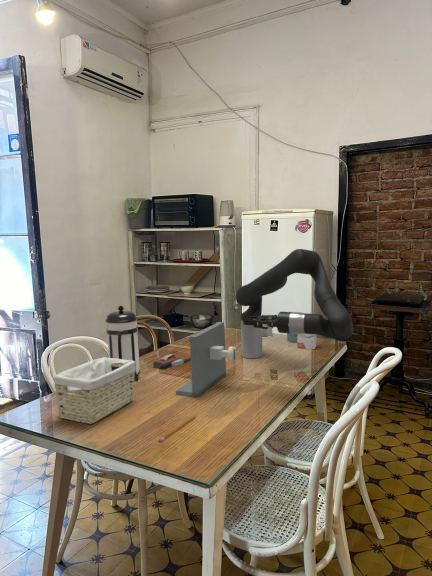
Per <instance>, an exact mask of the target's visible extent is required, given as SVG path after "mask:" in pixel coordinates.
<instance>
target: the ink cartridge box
mask: <svg viewBox="0 0 432 576" xmlns="http://www.w3.org/2000/svg"><path fill="white" fill-rule="evenodd" d="M296 344H297V346H296V347H297V349H305V350H312V349H314V350H315V349H316V348H317V334H297V343H296Z"/></svg>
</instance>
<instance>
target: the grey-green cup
mask: <svg viewBox="0 0 432 576" xmlns="http://www.w3.org/2000/svg"><path fill="white" fill-rule="evenodd" d="M286 337H287V338H286V339H287V342H288V341H289V342H288V343H293V344H295V343H296V344H297V334H288V333H286Z"/></svg>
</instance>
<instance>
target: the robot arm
mask: <svg viewBox="0 0 432 576" xmlns="http://www.w3.org/2000/svg"><path fill="white" fill-rule="evenodd" d="M294 274H301V275H309V276H310V277H311V278H312V280H313V281H314V284H315V285H314V292H313V293H314V299H315V301H316V304H317V305H318V307H319V309H320V311H321V312H322V314H323V315H324V316H326V318H325V317H324V316H323V315H322V314H320V313H306V312H305V313H304V312H300V311H299V312H298V311H296V312H295V311H279V312H278V313H277V314H262V312H263V310H262V309H263V296H267V295H272V294H273V293H275V292H277V291H279V290H281V289H282V288H283V287H285V285H286V284H287V282H288V277H289V276H291V275H294ZM328 277H329V276H328V274H327V271H326V268H325V265H324V263H323V259H322V258H321V256H320V254H319V253H318V252H317V251H314V250H311V249H305V248H304V249H303V248H298V249H297V248H296V249H294V250H293V251H291V252H290V253H289V254H288V255H287V256H285V258H283V259H282V260H281V261H280V262H279V263H277V264H275V265H274V266H273V267H271V268H269V269H268V270H266V271H265V272H263V273H262V274H261V275H259V276H258V277H257V278H255V279H253V280H252V281H251V282H249V283H247V284H244V285H242V286H240V287H239V288H238V289H237V291H236V293H235V300H236V302H237V304H238V305H239V306H241V307H248V308H247V309H246V310H245V311H244V312H243V311H242V313H241V314H240V335H241V336H240V338H241V340H240V342H241V347H240V348H241V357H242V358H245V359H259V358H261V357H263V355H264V354H263V351H264V350H263V349H264V348H263V338H262V336H261V329H268V328H272V329H274V328H276V329H277V332H278V333H280V334H287V333H288V334H316V335H319V336H322V337H324V338H329V339H333V340H337V341H338V340H339V341H341V340H347V339H349V338H350V337H351V336H353V334H354V325H353V319H352V316H351V314H350V312H349V311H348V310H347V309H346V307H345V306H344V305H343V304H342V303H341V301H340V299H339V297H338V296H337V294H336V292H335V291H334V289H333V287H332V285H331V282H330V280H329V278H328Z"/></svg>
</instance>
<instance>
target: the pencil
mask: <svg viewBox="0 0 432 576" xmlns="http://www.w3.org/2000/svg"><path fill="white" fill-rule="evenodd" d="M196 417H197V416H196V415H195V416H191V417H190V418H189V419H187V420H186V421H184V422H183V423H181V424H180V425H178V426H177V427H175V428H174V429H173V430H171V431H170V432H168V433H167V434H165V435H164V436H162V437H161V438H160V439H158V440H157V441H158V443H163V441H165V440H166V439H168V438H170V436H172V435H173V434H175V433H176V432H178V431H179V430H181V429H182V428H183V427H185V426H186V425H188V424H189V423H191V422H193V421H194V420H195V419H196Z"/></svg>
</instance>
